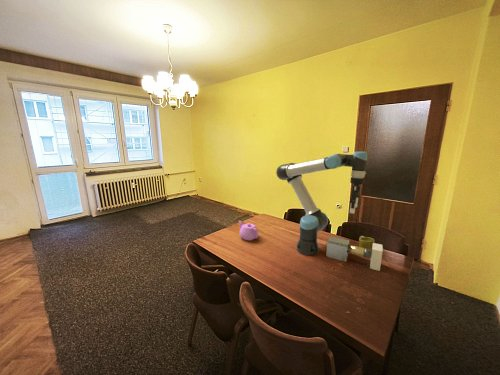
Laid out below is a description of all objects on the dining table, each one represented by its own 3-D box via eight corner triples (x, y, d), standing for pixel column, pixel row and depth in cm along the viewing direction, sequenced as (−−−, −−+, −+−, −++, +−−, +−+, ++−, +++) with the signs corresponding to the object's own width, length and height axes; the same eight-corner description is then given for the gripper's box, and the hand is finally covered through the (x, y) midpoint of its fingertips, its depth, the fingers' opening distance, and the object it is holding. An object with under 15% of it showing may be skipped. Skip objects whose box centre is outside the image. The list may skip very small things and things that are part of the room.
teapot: (263, 238, 162) (263, 224, 160) (251, 244, 153) (251, 229, 150) (244, 230, 175) (244, 217, 173) (233, 236, 166) (232, 222, 163)
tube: (343, 253, 131) (344, 245, 130) (344, 249, 136) (345, 242, 135) (374, 261, 123) (375, 253, 121) (374, 257, 127) (376, 249, 126)
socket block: (369, 268, 123) (372, 249, 120) (370, 260, 131) (372, 242, 128) (379, 271, 121) (382, 251, 118) (379, 263, 128) (382, 244, 125)
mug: (379, 252, 137) (375, 237, 137) (362, 255, 139) (358, 240, 140) (373, 246, 149) (369, 233, 149) (358, 249, 151) (354, 236, 152)
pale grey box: (326, 256, 136) (327, 240, 134) (328, 250, 143) (330, 235, 141) (346, 261, 130) (347, 245, 127) (347, 255, 137) (349, 239, 135)
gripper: (362, 181, 115) (357, 217, 120) (366, 174, 136) (361, 205, 141) (347, 179, 119) (343, 214, 124) (353, 173, 139) (349, 203, 144)
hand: (353, 209), depth 132 cm, fingers open, 13 cm apart
